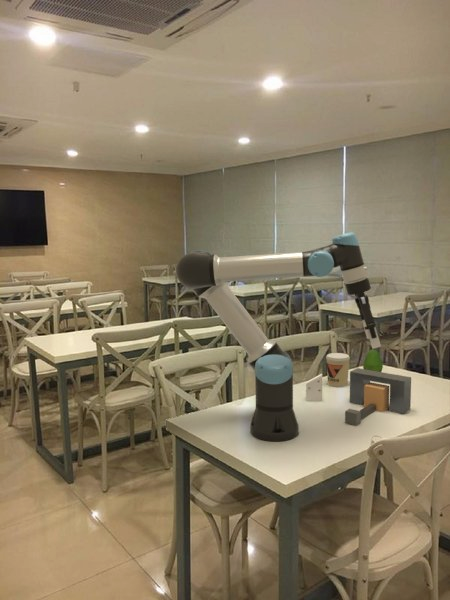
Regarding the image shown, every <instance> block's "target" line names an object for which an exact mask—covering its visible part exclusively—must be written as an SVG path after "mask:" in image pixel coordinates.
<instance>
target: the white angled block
mask: <svg viewBox="0 0 450 600" xmlns="http://www.w3.org/2000/svg"><path fill="white" fill-rule="evenodd" d="M305 387H306V388H305V401H306V402H323V373H320V374H318V375H317V376H315V377H313V378H311V379H309V380H306V382H305Z"/></svg>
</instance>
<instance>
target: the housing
mask: <svg viewBox="0 0 450 600" xmlns="http://www.w3.org/2000/svg"><path fill="white" fill-rule="evenodd" d="M370 382H373V383H378V384H383V385H389V412H392V413H396V414H400V415H405V414H406V413H408V412H409V411H411V403H412V402H411V401H412V377H411V376H405V375H399V374H394V373H388V372H382V371H381V372H377V371H371V370H366V369H363V368H360V367H359V368H358V367H357V368H355V369H352V370H351V371H350V372H349V403H352V404H356V405H360V406H364V386H365V385H366V384H368V383H370Z"/></svg>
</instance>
